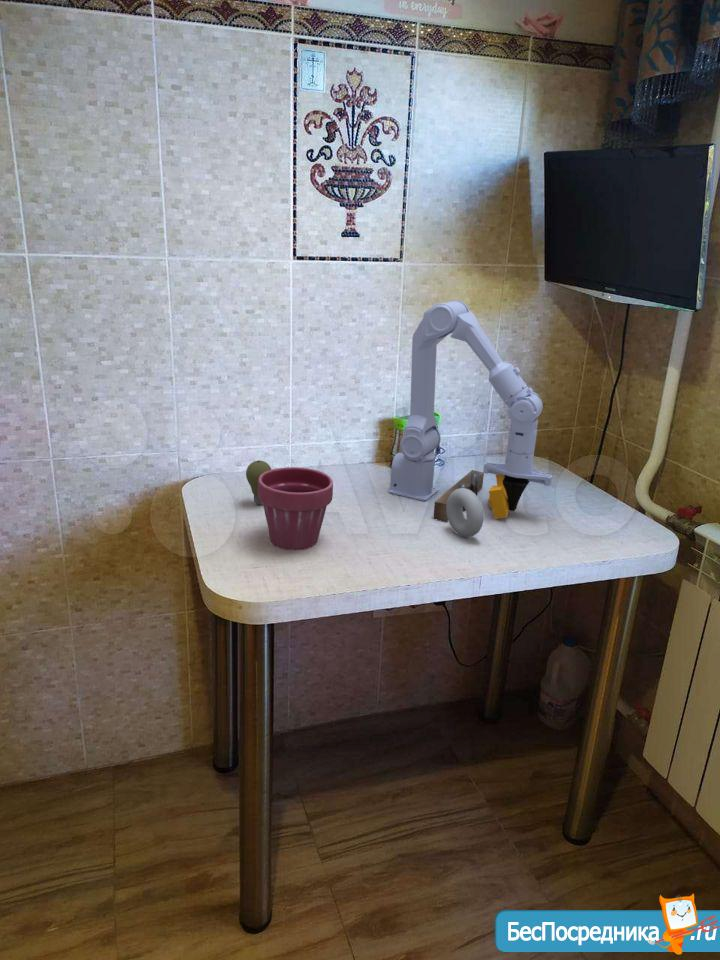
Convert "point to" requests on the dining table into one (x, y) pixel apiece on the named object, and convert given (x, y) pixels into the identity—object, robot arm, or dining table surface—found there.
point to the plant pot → (294, 505)
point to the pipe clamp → (499, 499)
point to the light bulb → (256, 477)
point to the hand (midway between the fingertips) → (512, 509)
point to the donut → (473, 512)
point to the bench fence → (469, 481)
